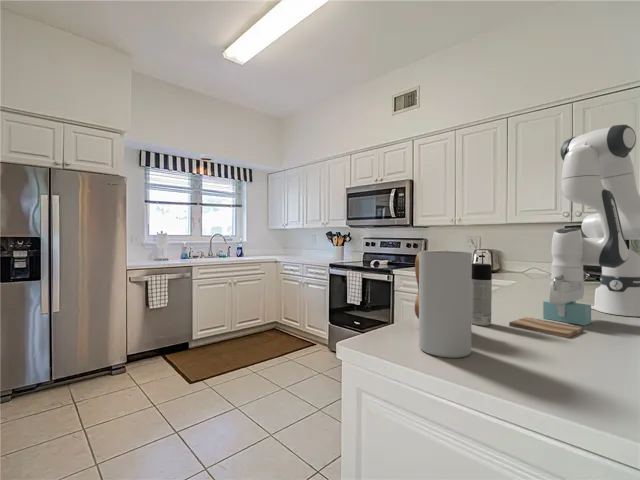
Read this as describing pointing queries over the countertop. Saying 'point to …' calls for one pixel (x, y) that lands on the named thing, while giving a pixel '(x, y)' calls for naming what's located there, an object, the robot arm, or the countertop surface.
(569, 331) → the board
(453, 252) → the cylinder vase
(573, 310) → the pale blue tall prism
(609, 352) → the countertop surface
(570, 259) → the robot arm
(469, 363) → the countertop surface
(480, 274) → the spray can
